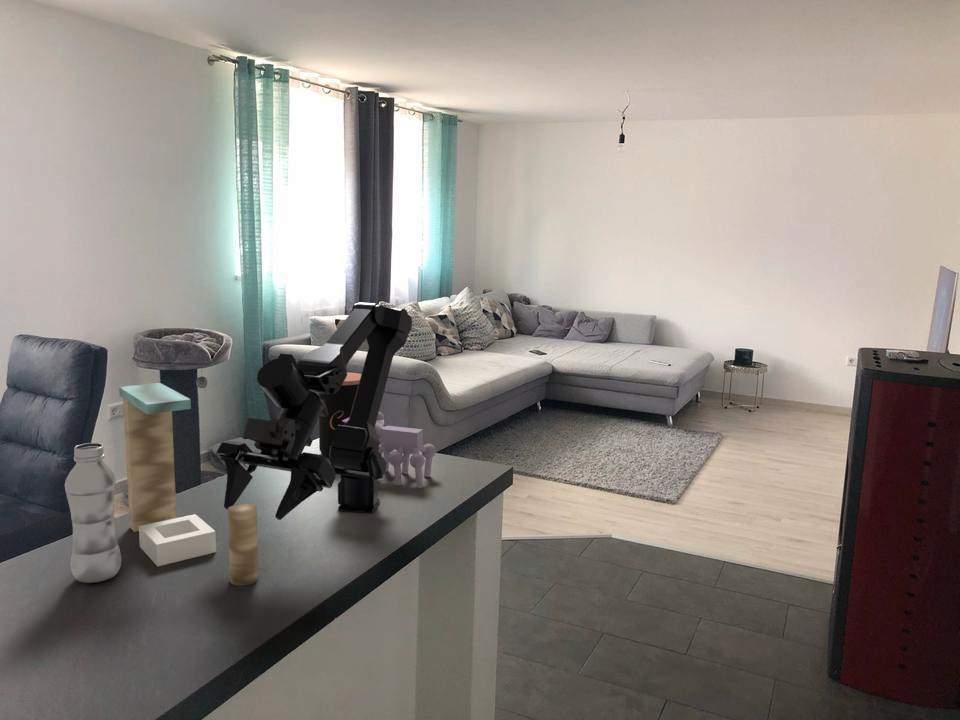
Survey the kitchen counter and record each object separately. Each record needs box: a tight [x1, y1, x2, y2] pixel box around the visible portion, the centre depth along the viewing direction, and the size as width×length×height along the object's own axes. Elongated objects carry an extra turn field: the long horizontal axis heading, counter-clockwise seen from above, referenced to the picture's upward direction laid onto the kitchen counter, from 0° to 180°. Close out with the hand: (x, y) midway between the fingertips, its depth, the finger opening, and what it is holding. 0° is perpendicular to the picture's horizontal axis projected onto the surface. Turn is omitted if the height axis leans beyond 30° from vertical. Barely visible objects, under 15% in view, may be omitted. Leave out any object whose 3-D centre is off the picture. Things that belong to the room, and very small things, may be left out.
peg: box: [227, 503, 259, 587], centre depth 114 cm, size 4×4×11 cm
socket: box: [138, 513, 217, 567], centre depth 124 cm, size 9×9×4 cm
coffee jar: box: [318, 371, 362, 459], centre depth 176 cm, size 11×11×18 cm
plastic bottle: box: [64, 442, 123, 584], centre depth 112 cm, size 6×7×20 cm
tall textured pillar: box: [118, 382, 192, 533], centre depth 127 cm, size 8×15×24 cm, turn 39°
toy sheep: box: [342, 411, 437, 489], centre depth 161 cm, size 20×11×14 cm, turn 73°
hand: (251, 513), depth 115 cm, fingers open, 9 cm apart
